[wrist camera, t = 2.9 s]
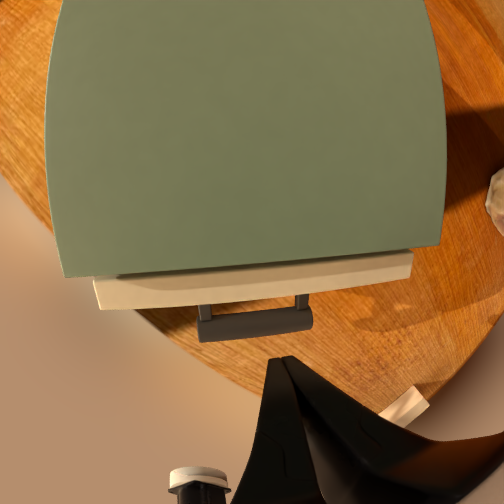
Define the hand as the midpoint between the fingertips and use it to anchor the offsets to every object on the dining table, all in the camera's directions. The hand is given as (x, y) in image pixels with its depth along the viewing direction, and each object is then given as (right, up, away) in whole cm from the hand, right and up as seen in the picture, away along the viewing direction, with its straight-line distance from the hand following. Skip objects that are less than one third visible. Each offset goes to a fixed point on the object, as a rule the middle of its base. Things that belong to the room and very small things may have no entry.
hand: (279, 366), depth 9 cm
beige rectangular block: (+17, -16, +18) cm, 29 cm away
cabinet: (-2, +13, +5) cm, 14 cm away
